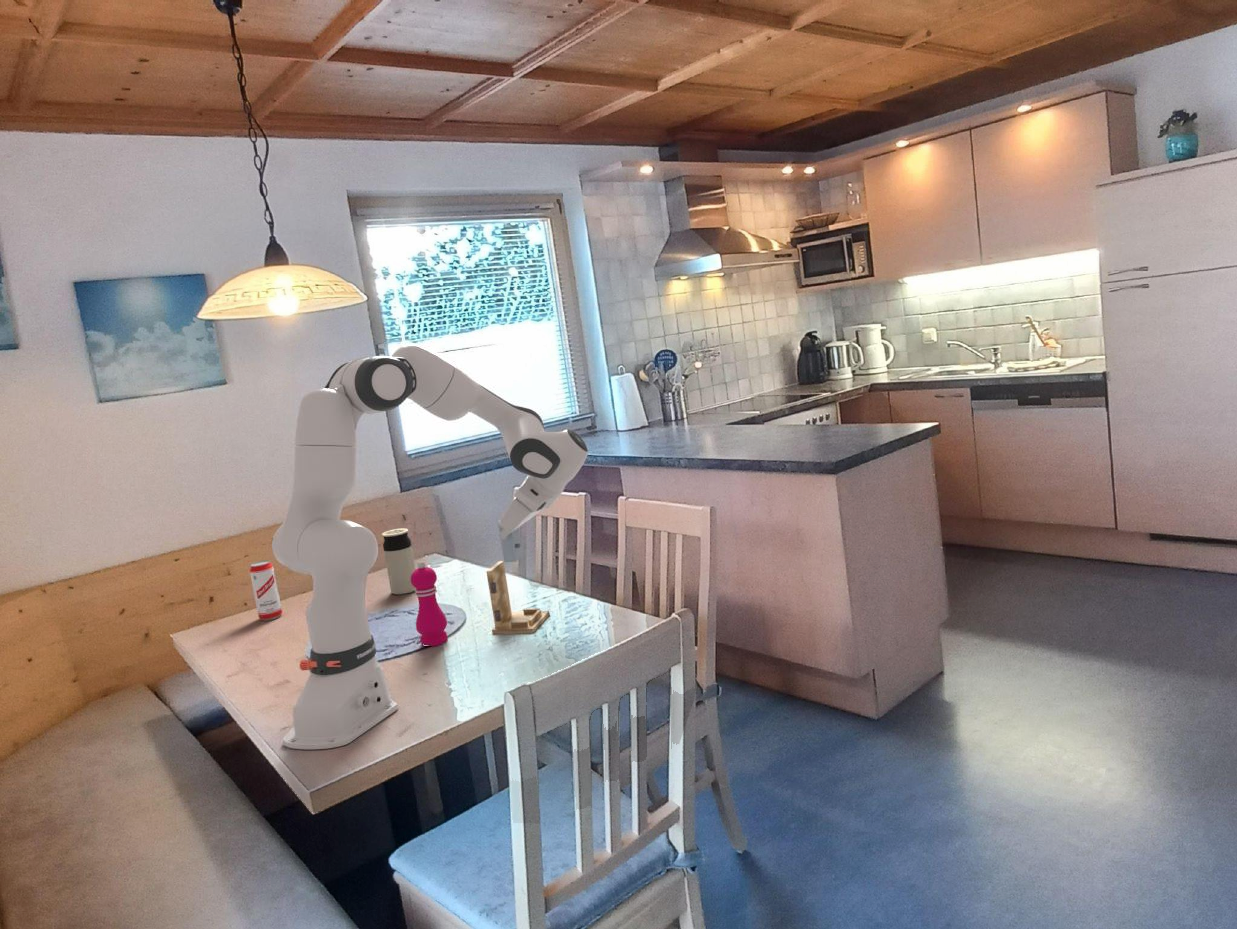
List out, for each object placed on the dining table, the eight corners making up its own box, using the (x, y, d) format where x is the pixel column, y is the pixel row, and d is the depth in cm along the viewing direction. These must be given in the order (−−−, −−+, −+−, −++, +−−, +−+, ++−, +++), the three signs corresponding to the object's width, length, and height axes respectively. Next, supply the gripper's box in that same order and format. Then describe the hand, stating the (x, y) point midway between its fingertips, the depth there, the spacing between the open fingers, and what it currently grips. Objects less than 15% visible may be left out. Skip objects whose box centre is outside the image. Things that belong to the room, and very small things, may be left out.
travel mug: (414, 593, 240) (404, 533, 238) (387, 596, 241) (377, 536, 238) (422, 585, 248) (412, 526, 245) (396, 587, 249) (385, 529, 246)
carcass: (533, 632, 195) (524, 571, 193) (492, 634, 198) (483, 573, 196) (549, 614, 207) (541, 556, 205) (510, 616, 210) (502, 558, 207)
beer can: (284, 616, 234) (274, 562, 231) (261, 623, 231) (250, 567, 228) (280, 612, 239) (270, 558, 237) (257, 618, 236) (246, 564, 233)
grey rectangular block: (519, 561, 197) (513, 520, 195) (504, 562, 198) (498, 521, 196) (527, 555, 201) (521, 515, 200) (511, 556, 203) (505, 516, 201)
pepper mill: (442, 647, 194) (428, 565, 190) (414, 648, 195) (399, 567, 192) (454, 635, 200) (441, 555, 197) (426, 636, 202) (413, 557, 199)
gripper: (544, 473, 205) (513, 514, 209) (514, 491, 185) (480, 536, 190) (563, 489, 205) (532, 530, 209) (535, 509, 185) (501, 553, 189)
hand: (507, 533), depth 199 cm, fingers closed on grey rectangular block, 5 cm apart
